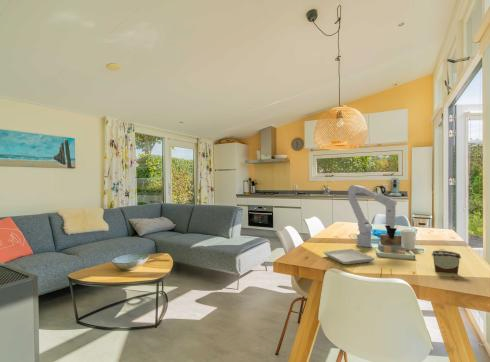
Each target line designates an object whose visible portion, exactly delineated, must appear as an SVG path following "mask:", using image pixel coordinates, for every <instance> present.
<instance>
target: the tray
mask: <svg viewBox="0 0 490 362" xmlns="http://www.w3.org/2000/svg"><path fill="white" fill-rule="evenodd" d="M375 254H376V256H377V257H378V258H388V259H389V258H391V259H401V260H413V261H415V260H416V255H415V253H414V252H413V250H409V251H408V252H405V254H397V253H396V252H391V253H384V252H383V251H380V250H379V248H378V247H376V248H375Z"/></svg>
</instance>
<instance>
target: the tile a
mask: <svg viewBox="0 0 490 362" xmlns="http://www.w3.org/2000/svg"><path fill="white" fill-rule="evenodd" d="M384 253H391V246H384Z"/></svg>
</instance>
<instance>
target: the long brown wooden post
mask: <svg viewBox="0 0 490 362" xmlns="http://www.w3.org/2000/svg"><path fill="white" fill-rule="evenodd" d="M379 237H380V240H379V242H380V243H381V244H391V245H401V234H394V238H393V239H391V238H389V235H388V234H387V233H385V234H384V233H383V234H382V233H380V236H379Z"/></svg>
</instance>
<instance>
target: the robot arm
mask: <svg viewBox="0 0 490 362" xmlns="http://www.w3.org/2000/svg"><path fill="white" fill-rule="evenodd" d="M360 194H365V195H367V196H369V197H371V198H373V199H374V201H376V202H378V203H380V204H382V205H384V206H385V225H384V227H385V229H386V234H388V235H389V238H391V239H393V238H394V235H396V234H395V233H396V231H397V228H396V227H395V226H398V223H396V211H397V210H396V206H397V204H398V202H397V201H396V199H394V198H391V197H390V196H386V195H385V194H384V193H382V192H381V193H380V192H378V193H376V192H375V191H372V190H371V189H368V188H367V187H365V186H363V185H361V184H356V185H355V184H351V185H349V187H348V189H347V195H348V196H347V199H348V202H349V204H350V206H351V209H352V210H353V213H354V215H355V217H356V220H357V225H358V226H357V227H358V231H359V232H357V233H356V245H357V247H361V248H362V247H363V248H373V246H372V230H373V225H372V224H371V223H370V222H369V221H368V219H366V217H365V214H364V212H363V210H362V208H361V206H360V204H359V201H358V200H357V199H358V197H359V195H360Z"/></svg>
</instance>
